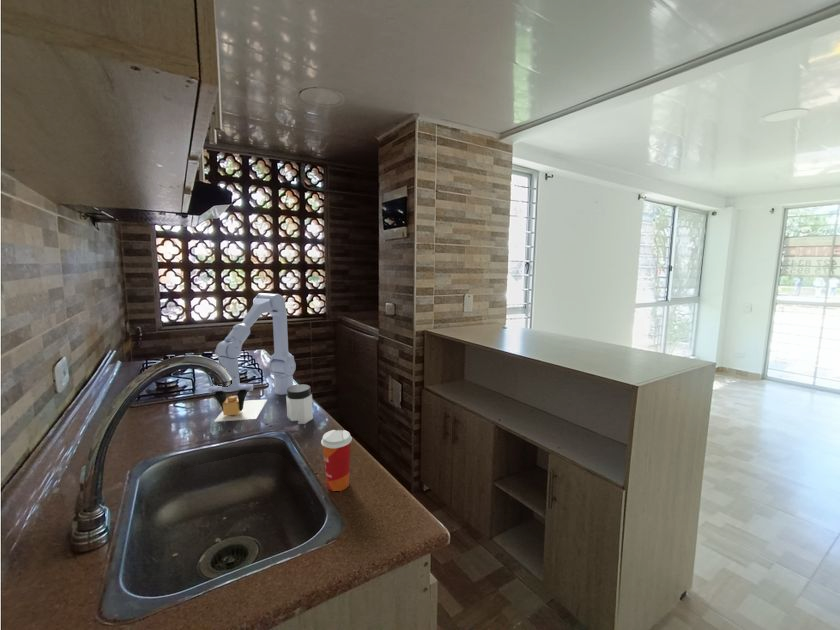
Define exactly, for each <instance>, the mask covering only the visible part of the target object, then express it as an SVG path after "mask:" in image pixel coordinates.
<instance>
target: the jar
mask: <svg viewBox="0 0 840 630" xmlns="http://www.w3.org/2000/svg"><path fill="white" fill-rule="evenodd" d="M311 389H312V388H311V386H310V385H308V384H304V383H303V384H293V386H290V387H289V388H287V394H286V396H285V399H286V400H285V401H286V403H285V404H286V415H287V416H286V417H287V418H288V420H290V421H291V422H297V421H298V422H297V425H306V424H307V423H309V422H310V421H312V420H313V419H314V410H313V408H314V407H313V394H312V392H311Z"/></svg>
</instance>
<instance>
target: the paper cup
mask: <svg viewBox="0 0 840 630" xmlns="http://www.w3.org/2000/svg"><path fill="white" fill-rule="evenodd" d="M352 437H353V436H351V433H350V432H349V431H347V430H345V429H343V430H342V429H337V430H336V429H331V430H329V431H327V432H325V433H324V434H323V435H322V439H321V441H320V444H321V445H322V451H323V452H322V453H323V461H324V469H325V471H324V472H325V480H326V487H328V488H327V489H330V490H332V491H340V492H343V491H345V490H346V488H347V487H348V488H349V486H350V471H351V470H350V469H351V467H350V466H351V445H352V444H351V443H352V439H353V438H352ZM348 488H347V489H348ZM344 489H345V490H344ZM330 490H329V491H330ZM342 490H343V491H342ZM332 491H331V492H332Z"/></svg>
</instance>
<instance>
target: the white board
mask: <svg viewBox="0 0 840 630" xmlns="http://www.w3.org/2000/svg"><path fill="white" fill-rule="evenodd" d="M267 401H268V399H252V400H249V399H248V400H244V405H243V409H242V411H241V412H240V413H239V414H237V415H234V416H231V415H224V414H223V410H222V411H221V412H220V413H219V414H218V416H217V417H216V418H215V419H214V420H213V422H214V423H218V422H228V421H230V422H231V421H244V420H245V421H246V420H257V419H258V417H259V415H260V413H261V412H262V410H263V408H264V406H265V405H266V403H267Z"/></svg>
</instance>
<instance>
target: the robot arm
mask: <svg viewBox="0 0 840 630" xmlns="http://www.w3.org/2000/svg"><path fill="white" fill-rule="evenodd" d="M252 303H253V304H252V306H251V308H250V309H249V310H248V312H247V314H245V315H246V316H245V317H244V318H243V320H242V322H241V323H237V324H234V325H233V327H232V329H231V331H229V333H228V334H227V336H226V337H225V338H224V340H221V341H220V342H218V344H217V345H216V348H215V349H214V353H215V355H216V356H217V357H218V361H219V364H220V363H221V364H222V365H223V366H224V367H225V368H226V369H227V370H228V372H229V373H230V375H231V377H232V384H231V385H230V386H228V387H222V386H218V385H211V386H209V387H208V388H207V389H208V390H207V391H208V394H213V393H215V394H214V396H213V397H214V398H215V400H216V401H217V402H218V403H219V405H220V408H221V409H222V411H223V402H224V401H225V400H226V399H227V393H228V392H229V393H230V392H237V395H236V397H238V400H239V410H240V411H242V409H243V405H244V401H246V400H245V399H246V396H247V394H248V392H252V391H253V390H254V384H253V383H251V384H250V383H240V382H241V381H240V380H241V379H240V370H239V358H238V357H239V356H240V355H241V353H242V347H243V344H244V342H245V341H246V340H247V339H248V337H249V336H250V334H251V327H253V325H254V324H255V323H256V322H257V320H258V319H259V318H260V317H261V316H262V315H263V314H267V313H269V314H270V315H271V316H272V330H273V348H274V349H273V350H274V353H273V354H272V355H271V356H270V360H269V364H268V369H269V371H270V372H271V373H272V375H273V383H274V393H275V395H278V396H279V395H281V396H283V395H287V388H289V387H290V386H293V385H294V376H293V375H294V373H296V372H295V371H296V369H297V368H296V367H297V366H296V365H297V364H296V361H295V356H294V355H292V353H290V352H289V337H288V317H287V316H288V314H287V313H288V311H287V307H286V298H285V296H282V295H281V294H279V293H264V292H259V293H258V294H257V295H256V296H255V298H254V299H253V300H252Z"/></svg>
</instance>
